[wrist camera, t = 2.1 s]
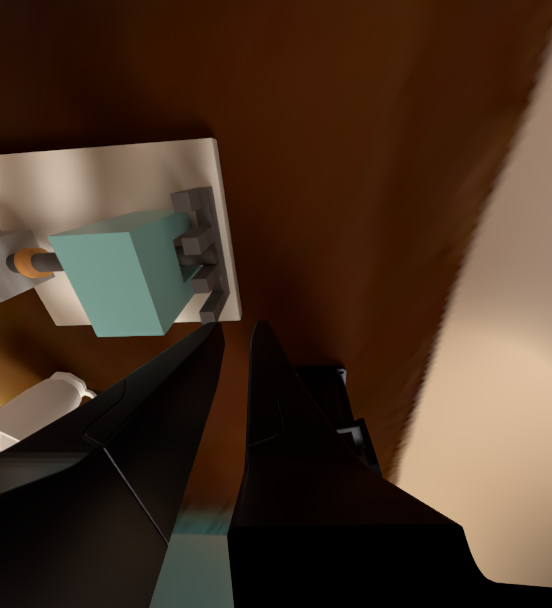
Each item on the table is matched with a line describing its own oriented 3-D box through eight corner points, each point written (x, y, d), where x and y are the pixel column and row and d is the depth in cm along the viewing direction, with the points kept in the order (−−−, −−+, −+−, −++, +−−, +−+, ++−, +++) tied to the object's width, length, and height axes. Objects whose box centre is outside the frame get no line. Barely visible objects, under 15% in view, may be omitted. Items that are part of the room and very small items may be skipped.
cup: (38, 353, 28) (-48, 418, 20) (128, 385, 29) (78, 454, 22) (37, 392, 31) (-38, 459, 24) (118, 418, 33) (71, 488, 25)
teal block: (186, 208, 18) (128, 232, 11) (203, 282, 21) (164, 335, 14) (133, 211, 18) (46, 236, 12) (156, 284, 21) (97, 336, 14)
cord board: (216, 139, 17) (184, 127, 12) (242, 313, 24) (229, 354, 19) (-23, 158, 18) (-149, 155, 13) (66, 318, 25) (7, 359, 20)
